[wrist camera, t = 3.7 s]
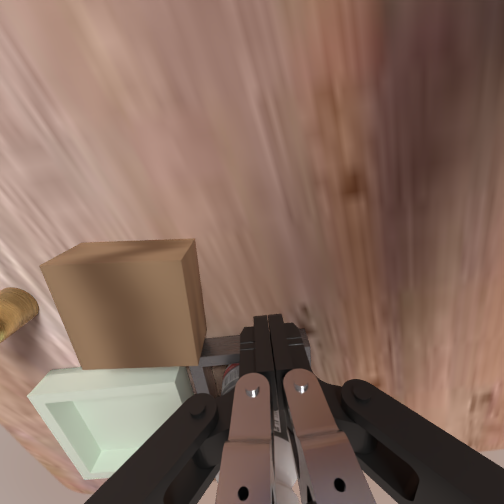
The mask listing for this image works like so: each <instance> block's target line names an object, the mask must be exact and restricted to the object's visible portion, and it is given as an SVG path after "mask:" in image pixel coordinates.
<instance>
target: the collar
mask: <svg viewBox="0 0 504 504" xmlns="http://www.w3.org/2000/svg"><path fill="white" fill-rule="evenodd" d="M299 331H300V334H301V338H302V341H303V345H304V347H305V350H306V354H307V357H308V360H309V363H310V367H311V357H310V344H309V341H308V338H307V335H306V332H305V329H299ZM269 335H270V333H269ZM239 359H240V335H237V336H227V337H217V338H208V339H204V343H203V348H202V352H201V356H200V360H199V364H198V366H189V367H190V371H191V374H192V378H193V381H194V384H195V388H196V391H197V394H198V393H207V394H210V395H211V396H213V397H214V399H215V398H217V397H218V393H217V389H216V385H215V381H214V377H213V373H212V369H211V366H217V365H228V364H238V363H239Z"/></svg>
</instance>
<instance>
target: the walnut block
mask: <svg viewBox="0 0 504 504" xmlns="http://www.w3.org/2000/svg"><path fill="white" fill-rule="evenodd" d="M40 268H41V271H42V273H43V276H44V278H45V281H46V283H47V285H48V288H49V290H50V293H51V295H52V297H53V300H54V302H55V305H56V307H57V309H58V312H59V314H60V317H61V319H62V322H63V324H64V326H65V329H66V331H67V334H68V336H69V338H70V341H71V343H72V346H73V348H74V350H75V353H76V355H77V358H78V360H79V363H80V365H81V367H82V370H96V369H124V368H151V367H178V366H198V364H199V360H200V356H201V352H202V348H203V343H204V339H205V335H206V331H207V327H206V319H205V312H204V304H203V297H202V289H201V282H200V274H199V267H198V259H197V252H196V244H195V239H172V240H145V241H117V242H90V243H81V244H79V245H77V246H75V247H73V248H71V249H69V250H68V251H66V252H64V253H62V254H60V255H58V256H56V257H55V258H53V259H51V260H49V261H47V262H45V263H43V264H42V265H40Z"/></svg>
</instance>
